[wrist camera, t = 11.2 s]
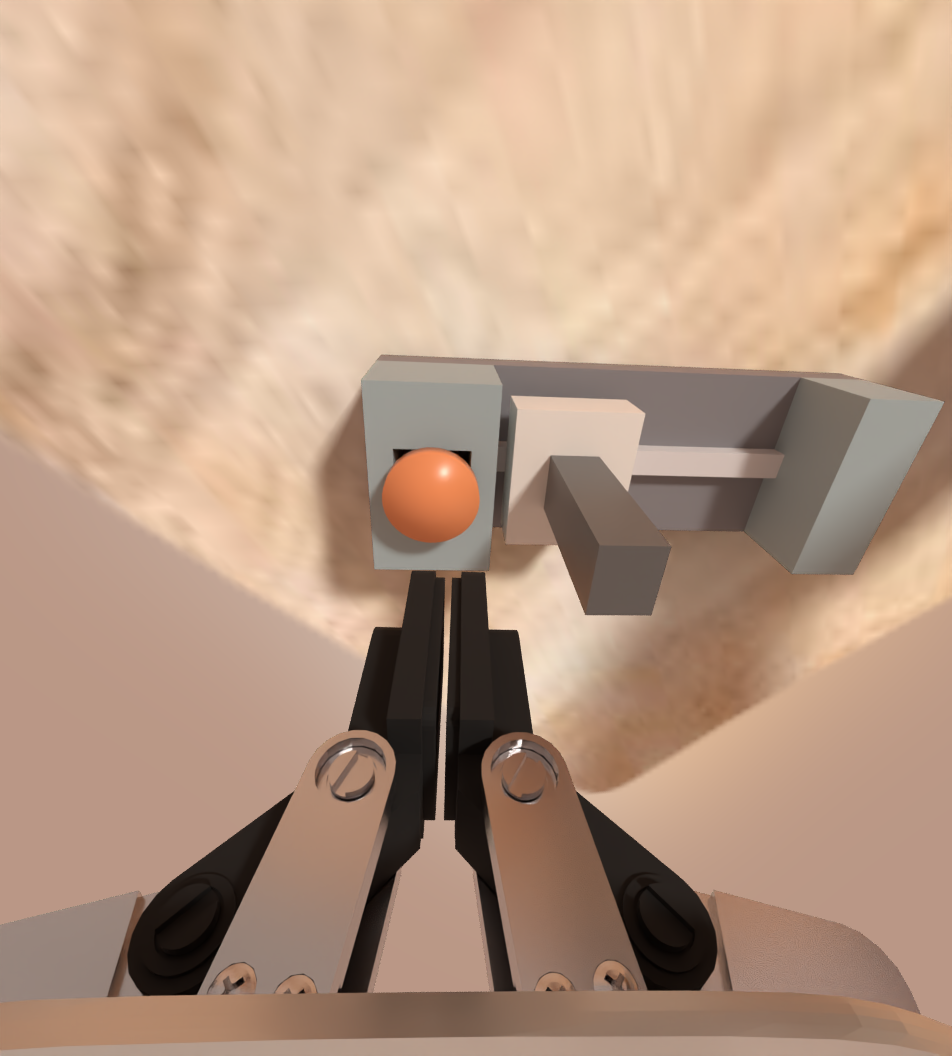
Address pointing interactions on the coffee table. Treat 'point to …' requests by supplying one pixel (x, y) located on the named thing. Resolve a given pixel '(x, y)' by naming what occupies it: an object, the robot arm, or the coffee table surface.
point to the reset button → (431, 495)
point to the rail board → (664, 450)
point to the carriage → (583, 498)
